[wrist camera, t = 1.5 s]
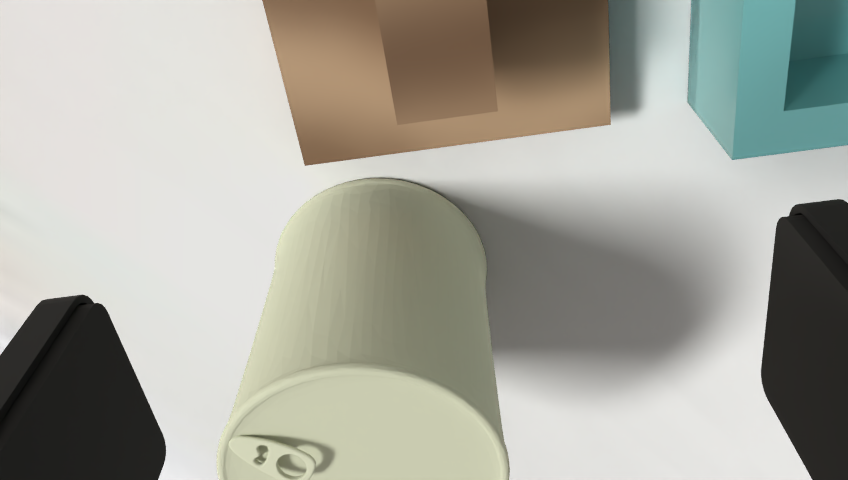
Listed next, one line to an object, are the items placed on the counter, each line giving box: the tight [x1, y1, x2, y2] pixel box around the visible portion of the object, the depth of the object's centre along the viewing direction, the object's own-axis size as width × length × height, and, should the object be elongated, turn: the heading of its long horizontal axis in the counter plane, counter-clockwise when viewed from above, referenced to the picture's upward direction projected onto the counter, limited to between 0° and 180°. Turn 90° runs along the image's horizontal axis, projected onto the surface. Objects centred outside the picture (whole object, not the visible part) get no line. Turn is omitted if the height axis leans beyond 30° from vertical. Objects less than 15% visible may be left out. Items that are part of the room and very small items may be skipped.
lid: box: [262, 0, 611, 166], centre depth 24 cm, size 12×12×6 cm
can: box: [217, 178, 510, 480], centre depth 28 cm, size 9×9×12 cm
